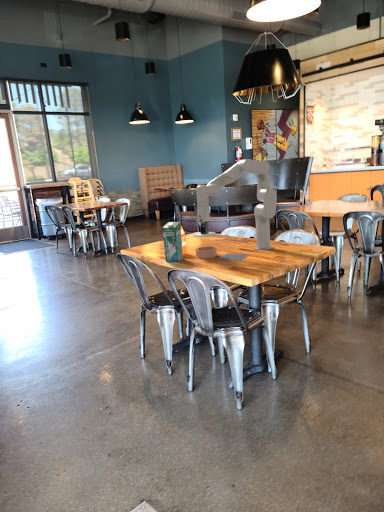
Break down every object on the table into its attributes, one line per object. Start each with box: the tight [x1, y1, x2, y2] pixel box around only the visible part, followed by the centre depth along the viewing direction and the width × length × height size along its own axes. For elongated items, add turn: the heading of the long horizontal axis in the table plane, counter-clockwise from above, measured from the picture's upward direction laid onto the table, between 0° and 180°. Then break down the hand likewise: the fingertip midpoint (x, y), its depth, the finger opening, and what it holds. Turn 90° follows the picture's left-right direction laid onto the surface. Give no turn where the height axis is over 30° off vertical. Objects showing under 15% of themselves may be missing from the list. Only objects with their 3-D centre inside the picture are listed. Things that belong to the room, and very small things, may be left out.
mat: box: [217, 252, 252, 262], centre depth 251 cm, size 17×17×1 cm
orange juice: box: [181, 225, 187, 255], centre depth 272 cm, size 8×9×20 cm
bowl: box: [195, 245, 218, 260], centre depth 258 cm, size 13×13×6 cm
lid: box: [192, 223, 217, 238], centre depth 254 cm, size 15×15×8 cm
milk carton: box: [162, 221, 184, 262], centre depth 254 cm, size 9×9×25 cm
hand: (204, 231), depth 254 cm, fingers closed on lid, 4 cm apart
